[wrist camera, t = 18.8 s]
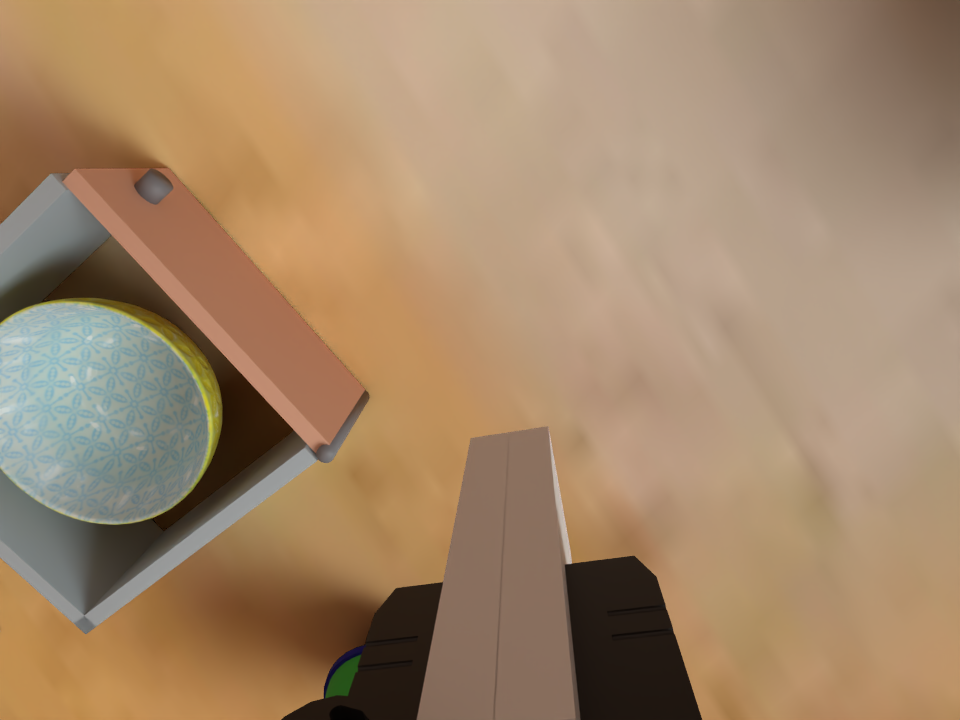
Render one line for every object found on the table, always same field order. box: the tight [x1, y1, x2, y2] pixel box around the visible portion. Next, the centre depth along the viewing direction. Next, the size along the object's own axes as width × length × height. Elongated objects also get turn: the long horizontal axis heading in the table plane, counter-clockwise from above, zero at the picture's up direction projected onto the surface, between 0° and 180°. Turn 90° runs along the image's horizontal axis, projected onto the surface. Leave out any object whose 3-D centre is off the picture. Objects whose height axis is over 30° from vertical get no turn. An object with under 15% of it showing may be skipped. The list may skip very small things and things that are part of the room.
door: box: [62, 168, 369, 463], centre depth 30 cm, size 2×16×7 cm, turn 39°
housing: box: [0, 173, 318, 634], centre depth 32 cm, size 16×16×8 cm
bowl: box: [0, 298, 222, 525], centre depth 32 cm, size 11×12×6 cm
